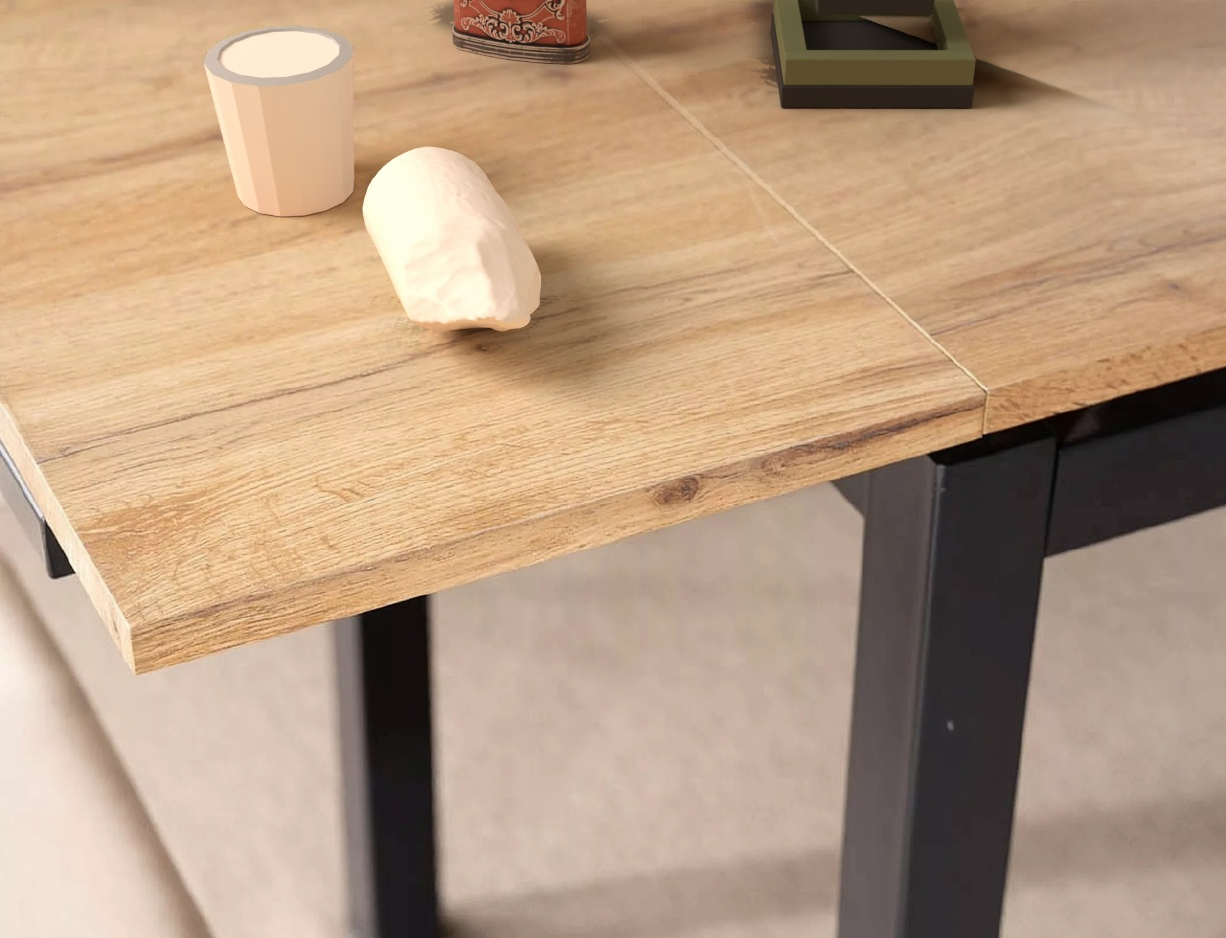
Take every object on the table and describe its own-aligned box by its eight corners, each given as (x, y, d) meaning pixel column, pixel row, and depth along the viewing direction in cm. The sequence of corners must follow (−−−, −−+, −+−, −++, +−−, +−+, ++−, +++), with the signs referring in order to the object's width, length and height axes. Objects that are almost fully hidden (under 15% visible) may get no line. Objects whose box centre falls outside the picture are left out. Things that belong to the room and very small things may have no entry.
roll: (429, 408, 69) (418, 287, 66) (366, 265, 79) (354, 151, 75) (573, 381, 71) (570, 261, 68) (495, 243, 80) (489, 131, 77)
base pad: (946, 32, 99) (951, -14, 98) (972, 108, 91) (978, 59, 90) (770, 32, 99) (772, -14, 98) (780, 108, 91) (783, 59, 90)
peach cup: (231, 231, 81) (210, 91, 77) (218, 166, 86) (197, 31, 82) (378, 211, 83) (364, 73, 78) (356, 148, 88) (342, 15, 84)
